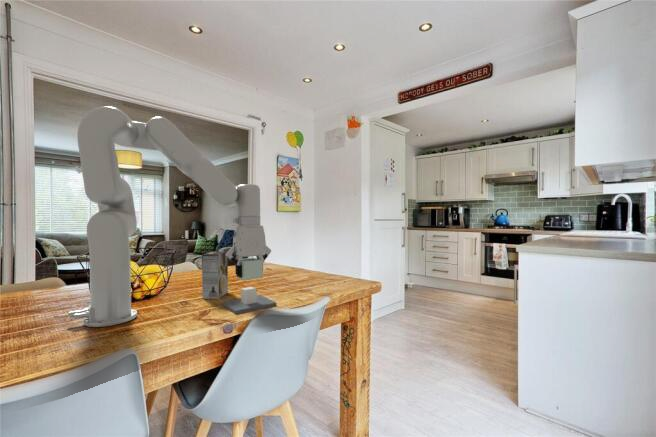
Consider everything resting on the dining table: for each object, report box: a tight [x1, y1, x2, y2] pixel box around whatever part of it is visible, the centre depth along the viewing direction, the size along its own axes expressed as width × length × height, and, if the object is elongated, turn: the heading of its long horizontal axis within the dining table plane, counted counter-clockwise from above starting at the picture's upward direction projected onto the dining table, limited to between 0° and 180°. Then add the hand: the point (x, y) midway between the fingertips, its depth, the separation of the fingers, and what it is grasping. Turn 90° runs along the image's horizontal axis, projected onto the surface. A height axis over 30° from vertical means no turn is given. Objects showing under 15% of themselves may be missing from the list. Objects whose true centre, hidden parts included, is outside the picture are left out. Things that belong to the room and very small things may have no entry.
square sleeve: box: [236, 257, 264, 281], centre depth 101 cm, size 6×6×6 cm
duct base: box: [221, 286, 277, 315], centre depth 101 cm, size 14×12×6 cm
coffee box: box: [201, 250, 229, 300], centre depth 113 cm, size 9×6×16 cm
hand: (249, 275), depth 101 cm, fingers closed on square sleeve, 6 cm apart
